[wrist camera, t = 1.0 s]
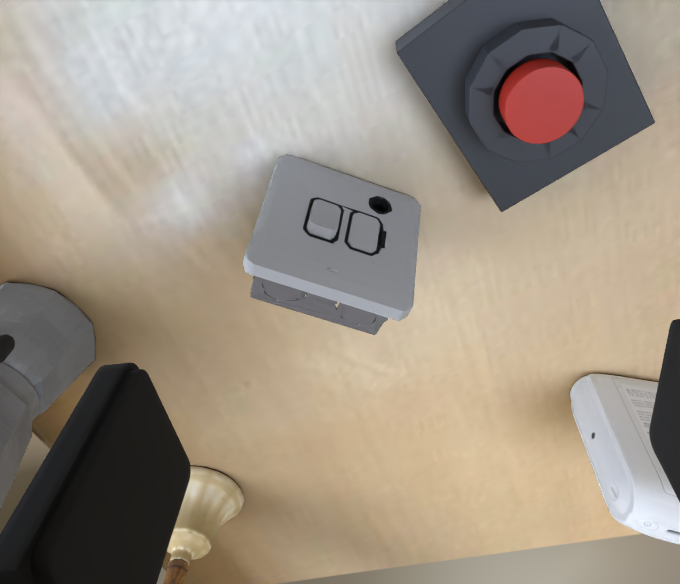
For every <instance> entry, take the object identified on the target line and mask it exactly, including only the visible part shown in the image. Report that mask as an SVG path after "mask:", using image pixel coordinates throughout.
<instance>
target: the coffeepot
mask: <svg viewBox="0 0 680 584" xmlns="http://www.w3.org/2000/svg"><path fill="white" fill-rule="evenodd" d="M94 360H95V334H94V330H93V324H92V323H91V321H90V320H89V319H88V318H87V317H86V315H85V314H84V313H83V312H82V311H81V310H80V309H79V308H78V307H77V306H76V305H75V304H74V303H72V302H71V301H70V300H69V299H67V298H66V297H64V296H62V295H60V294H59V293H57V292H56V291H54V290H51V289H48V288H45V287H42V286H38V285H34V284H25V283H15V284H14V283H8V282H5V283H4V284H2V285H1V286H0V509H1V507H2V505H3V502H4V500H5V498H6V495H7V493H8V491H9V488H10V486H11V483H12V481H13V479H14V477H15V474H16V472H17V470H18V467H19V465H20V462H21V460H22V458H23V456H24V453H25V451H26V449H27V446H28V444H29V442H30V439H31V437H32V426H31V423H32V422H33V420H34V419H35V417H37V416H38V415H40V414H41V413H42V412H44V411H45V410H46V409H48V407H49V406H50V405H51V404H52V403H53V402H54V401H55V400H56V399H57V398H58V397H59V396H60V395H61V394H62V393H63V392H64V391H65V390H66V389H67V388H68V387H69V386H70V385H71V384H72V383H73V382H74V380H75V379H76V378H77V377H78V376H79V375H80V374H81V373H82V372H83V371H84V370H85V369H86V368H87V367H88V366H89V365H90V364H91V363H92V362H93V361H94Z"/></svg>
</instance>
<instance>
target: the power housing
mask: <svg viewBox="0 0 680 584" xmlns="http://www.w3.org/2000/svg"><path fill="white" fill-rule="evenodd" d="M396 49H397V54H398V55H399V57H400V59H401V60H402V62H403V63H404V65H405V66H406V68H407V69H408V71H409V72H410V74H411V75H412V77H413V78H414V80H415V81H416V83H417V84H418V86H419V88H420V89H421V91H422V92H423V94H424V95H425V97H426V98H427V100H428V101H429V103H430V104H431V106H432V107H433V109H434V110H435V112H436V113H437V115H438V117H439V118H440V120H441V121H442V123H443V124H444V126H445V127H446V129H447V130H448V132H449V133H450V135H451V136H452V138H453V139H454V141H455V142H456V144H457V146H458V147H459V149H460V150H461V152H462V153H463V155H464V156H465V158H466V159H467V161H468V162H469V164H470V165H471V167H472V168H473V170H474V171H475V173H476V175H477V176H478V178H479V179H480V181H481V182H482V184H483V185H484V187H485V188H486V190H487V191H488V193H489V194H490V196H491V197H492V199H493V200H494V202H495V204H496V205H497V207H498V208H499V210H500V211H501V212H503V211H505V210H506V209H508V208H510V207H511V206H513V205H515V204H517V203H518V202H520V201H522V200H523V199H525V198H527V197H529V196H530V195H532V194H534V193H535V192H537V191H539V190H541V189H542V188H544V187H546V186H547V185H549V184H551V183H553V182H554V181H556V180H558V179H559V178H561V177H563V176H565V175H566V174H568V173H570V172H571V171H573V170H575V169H577V168H578V167H580V166H582V165H583V164H585V163H587V162H589V161H590V160H592V159H594V158H595V157H597V156H599V155H601V154H602V153H604V152H606V151H607V150H609V149H611V148H613V147H614V146H616V145H618V144H619V143H621V142H623V141H625V140H626V139H628V138H630V137H631V136H633V135H635V134H637V133H638V132H640V131H642V130H643V129H645V128H647V127H649V126H650V125H652V124H654V123H655V121H654V119H653V117H652V114H651V112H650V110H649V108H648V106H647V103H646V101H645V99H644V97H643V95H642V92H641V90H640V88H639V86H638V84H637V81H636V79H635V77H634V75H633V73H632V71H631V68H630V66H629V64H628V62H627V60H626V57H625V55H624V53H623V51H622V49H621V46H620V44H619V42H618V40H617V38H616V35H615V33H614V31H613V29H612V27H611V24H610V22H609V20H608V18H607V16H606V14H605V11H604V9H603V7H602V5H601V3H600V0H449V1H448V2H446V3H445V4H444V5H443V6H441V7H440V8H439V9H437V10H436V11H435V12H433V13H432V14H431V15H430V16H428V17H427V18H426V19H424V20H423V21H422V22H420V23H419V24H418V25H417V26H415V27H414V28H413V29H411V30H410V31H409V32H407V33H406V34H405V35H404V36H402V37H401V38H400V39H398V40H397V41H396ZM539 58H546V59H552V60H555V61H557V62H559V63H561V64H562V65H563V66H565V67H566V68H567V69H568V70H569V71H570V72H572V73H573V74H574V75H575V76H576V77H577V78H578V80H579V81H580V83H581V85H582V88H583V92H584V104H583V109H582V112H581V114H580V117H579V119H578V120H577V122H576V123H575V125H574V126H573V127H572V128H571V129H570V130H569V131H568V132H567V133H566V134H564V135H563V136H562V137H560V138H558V139H556V140H554V141H551V142H548V143H543V144H531V143H527V142H524V141H522V140H520V139H518V138H517V137H516V136H514V135H513V133H512V132H511V131H510V130H509V128H508V126H507V125H506V123H505V121H504V119H503V118H502V116H501V113H500V110H499V94H500V90H501V87H502V85H503V83H504V81H505V80H506V78H507V77H508V76H509V74H510V73H511V72H512V71H513V70H514V69H516V68H517V67H518V66H520V65H521V64H523V63H525V62H527V61H530V60H533V59H539Z"/></svg>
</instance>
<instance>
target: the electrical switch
mask: <svg viewBox="0 0 680 584" xmlns="http://www.w3.org/2000/svg"><path fill="white" fill-rule="evenodd" d="M420 210H421V206H420V204H419V203H418V202H417V201H416V200H415V199H414V198H413V197H411V196H408V195H405V194H402V193H399V192H396V191H393V190H390V189H387V188H384V187H382V186H379V185H376V184H373V183H370V182H367V181H364V180H361V179H358V178H356V177H353V176H350V175H347V174H344V173H341V172H338V171H335V170H332V169H329V168H327V167H324V166H321V165H318V164H315V163H312V162H309V161H306V160H303V159H301V158H298V157H295V156H292V155H284V156H281V157H279V159H278V161H277V164H276V166H275V169H274V171H273V174H272V177H271V180H270V183H269V186H268V189H267V192H266V195H265V198H264V201H263V204H262V207H261V210H260V213H259V216H258V219H257V222H256V225H255V228H254V231H253V234H252V237H251V240H250V243H249V246H248V247H247V250H246V253H245V255H244V259H243V265H244V269H245V272H246V273H248V274H251V275H254V276H253V283H252V288H251V290H252V292H250V293H251V296H250V297H251V298H255V299H258V300H261V301H264V302H268V303H271V304H274V305H278V306H281V307H284V308H287V309H291V310H294V311H297V312H301V313H304V314H307V315H310V316H314V317H317V318H320V319H324V320H327V321H330V322H333V323H337V324H340V325H343V326H347V327H350V328H353V329H356V330H360V331H363V332H366V333H370V334H373V335H375V334H376V333H377V332H378V330H379V329H380V327H381V325H382V324H383V323H384V322H385V321H386V320H388V318H390V319H394V320H397V321H400V320H402V319H404V318H405V317H407V316H408V314H409V312H410V310H411V309H412V307H413V299H414V286H415V273H416V261H417V248H418V235H419V222H420ZM263 287H264V290H265V291H264V290H263ZM305 294H306V295H307V296H306V297H305ZM298 296H299V298H298ZM304 297H305V298H304ZM277 300H278V301H277ZM338 302H339V305H338V308H336V306H335V304H336V303H338ZM358 324H362V325H358Z"/></svg>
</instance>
